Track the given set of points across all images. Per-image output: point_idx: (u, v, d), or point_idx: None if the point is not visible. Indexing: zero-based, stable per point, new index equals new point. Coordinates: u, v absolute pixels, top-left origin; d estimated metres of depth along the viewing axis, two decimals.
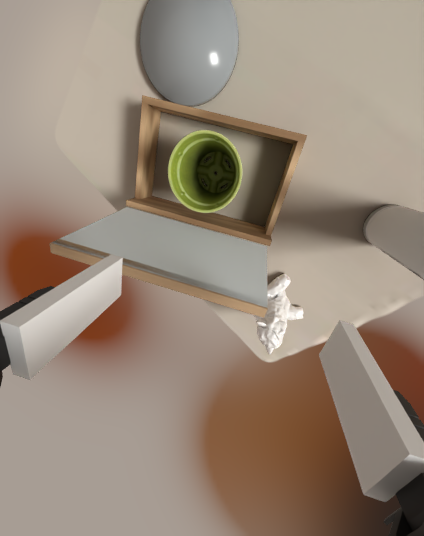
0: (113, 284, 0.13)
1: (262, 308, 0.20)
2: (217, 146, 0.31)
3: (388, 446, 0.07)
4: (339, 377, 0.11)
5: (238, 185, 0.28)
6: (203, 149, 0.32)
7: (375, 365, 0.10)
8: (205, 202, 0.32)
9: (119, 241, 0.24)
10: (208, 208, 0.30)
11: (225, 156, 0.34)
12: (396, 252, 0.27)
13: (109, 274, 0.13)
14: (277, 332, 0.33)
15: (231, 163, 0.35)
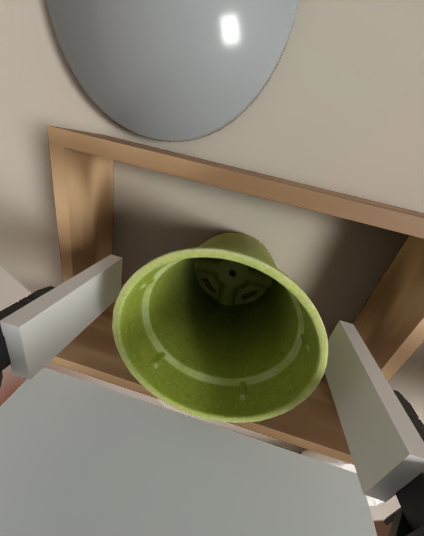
0: (113, 284, 0.13)
1: None
2: (242, 245, 0.12)
3: (388, 446, 0.07)
4: (339, 377, 0.11)
5: (310, 387, 0.10)
6: (207, 244, 0.14)
7: (376, 365, 0.10)
8: (214, 363, 0.14)
9: None
10: (222, 404, 0.12)
11: None
12: None
13: (109, 274, 0.13)
14: None
15: None
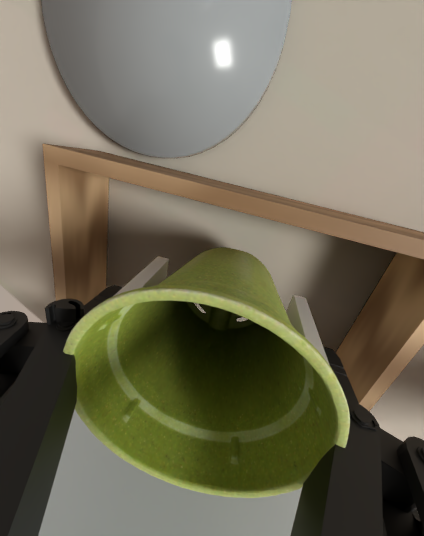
0: None
1: None
2: None
3: None
4: None
5: None
6: (193, 264, 0.11)
7: (315, 328, 0.12)
8: (201, 410, 0.11)
9: None
10: (208, 470, 0.10)
11: None
12: None
13: (160, 274, 0.14)
14: None
15: None
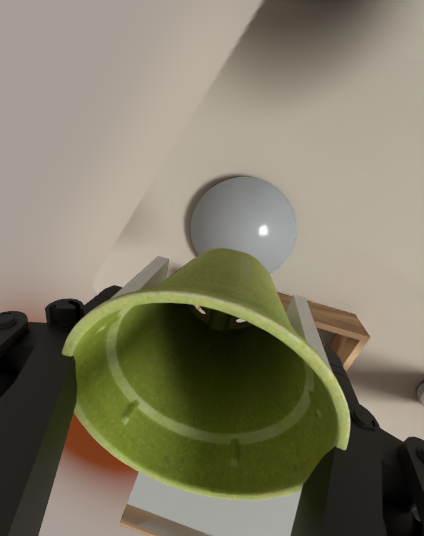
0: None
1: None
2: (234, 269, 0.10)
3: None
4: None
5: None
6: (192, 265, 0.11)
7: (315, 328, 0.12)
8: (201, 411, 0.11)
9: None
10: (208, 472, 0.10)
11: None
12: None
13: (160, 274, 0.14)
14: None
15: None
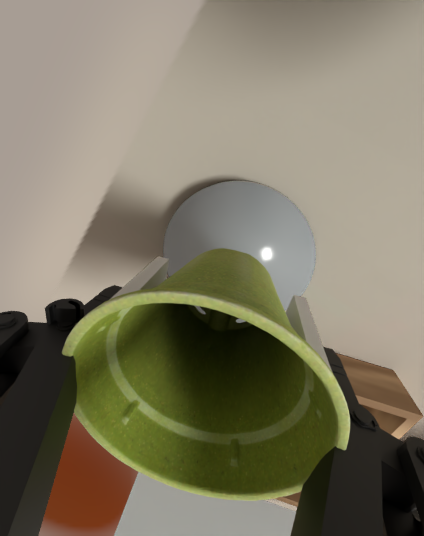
0: None
1: None
2: (234, 269, 0.10)
3: None
4: None
5: None
6: (192, 265, 0.11)
7: (315, 328, 0.12)
8: (201, 411, 0.11)
9: None
10: (208, 472, 0.10)
11: None
12: None
13: (160, 274, 0.14)
14: None
15: None
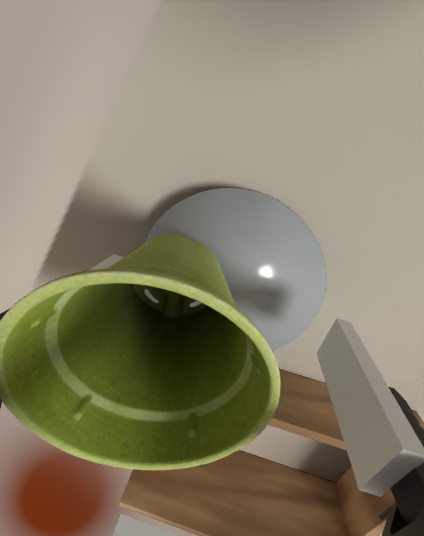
0: None
1: None
2: (176, 252, 0.10)
3: (383, 441, 0.08)
4: (336, 375, 0.11)
5: (265, 419, 0.08)
6: None
7: (372, 363, 0.10)
8: (159, 394, 0.12)
9: None
10: (168, 447, 0.10)
11: None
12: None
13: None
14: None
15: None
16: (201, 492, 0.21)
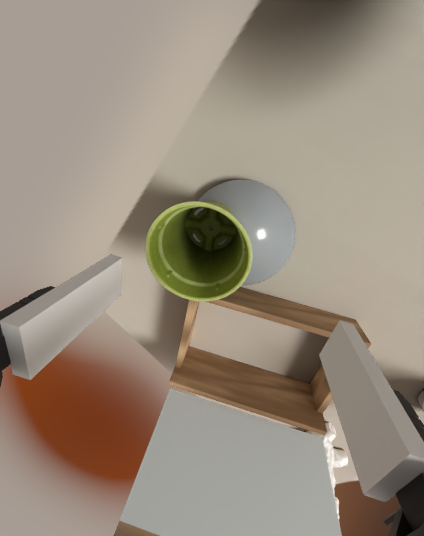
0: (113, 284, 0.13)
1: None
2: None
3: (388, 446, 0.07)
4: (339, 377, 0.11)
5: (247, 270, 0.20)
6: None
7: (376, 365, 0.10)
8: (201, 277, 0.24)
9: (179, 497, 0.22)
10: (206, 293, 0.22)
11: None
12: None
13: (109, 274, 0.13)
14: None
15: None
16: (220, 381, 0.33)
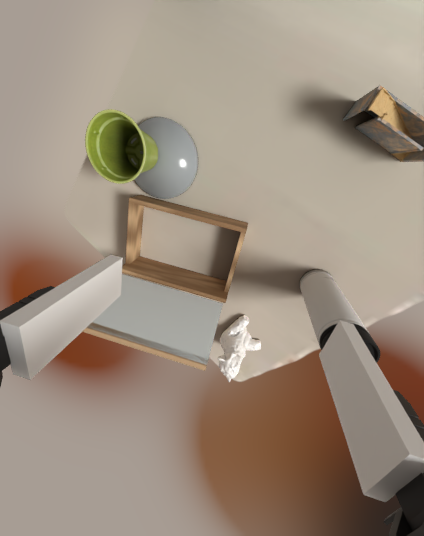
0: (113, 284, 0.13)
1: (203, 365, 0.31)
2: (132, 126, 0.35)
3: (388, 446, 0.07)
4: (339, 378, 0.11)
5: (144, 156, 0.32)
6: (123, 130, 0.36)
7: (376, 365, 0.10)
8: (127, 175, 0.37)
9: (112, 313, 0.35)
10: (125, 179, 0.35)
11: None
12: (309, 314, 0.37)
13: (109, 274, 0.13)
14: (233, 366, 0.44)
15: None
16: (157, 272, 0.46)
